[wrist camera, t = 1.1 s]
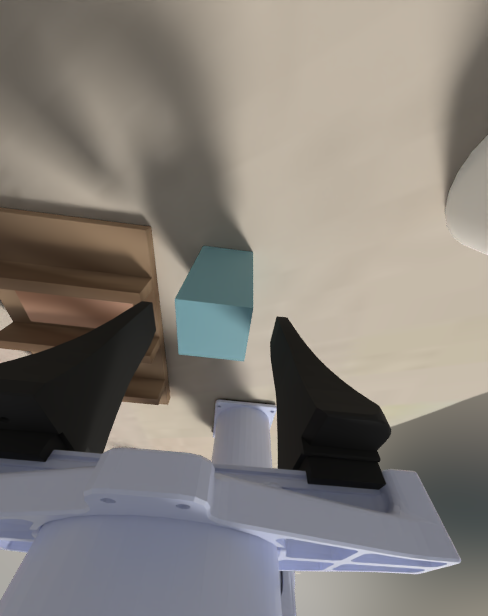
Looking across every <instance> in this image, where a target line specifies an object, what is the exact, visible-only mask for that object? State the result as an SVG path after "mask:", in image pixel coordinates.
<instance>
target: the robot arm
mask: <svg viewBox="0 0 488 616" xmlns="http://www.w3.org/2000/svg"><path fill="white" fill-rule="evenodd" d="M155 332H156V325H155V317H154V310H153V303H152V302H145V301H141V302H139V303H138V304H136V305H134V306H133V307H131V308H129V309H128V310H126V311H125V312H123V313H121V314H120V315H118V316H117V317H115V318H113V319H112V320H110V321H108V322H106V323H105V324H103V325H101V326H99V327H97V328H96V329H94V330H92V331H90V332H88V333H86V334H84V335H81V336H79V337H77V338H75V339H72V340H70V341H68V342H65V343H62V344H60V345H57V346H55V347H52V348H50V349H47V350H44V351H41V352H38V353H35V354H32V355H28V356H25V357H22V358H18V359H15V360H11V361H7V362H3V363H0V549H1V550H10V551H19V552H26V553H27V554H26V556H25V558H24V559H23V561H22V563H21V565H20V567H19V568H18V570H17V572H16V574H15V575H14V577H13V579H12V581H11V583H10V584H9V586H8V588H7V590H6V591H5V593H4V595H3V597H2V599H1V600H0V616H296V606H295V592H294V589H295V571H344V572H345V571H346V572H348V571H349V572H386V573H407V574H420V573H424V572H428V571H432V570H435V569H439V568H443V567H447V566H451V565H454V564H458V563H460V562H461V559H460V556H459V554H458V552H457V550H456V549H455V547H454V545H453V543H452V541H451V539H450V537H449V535H448V533H447V531H446V529H445V527H444V525H443V523H442V521H441V519H440V517H439V515H438V514H437V512H436V510H435V508H434V506H433V504H432V502H431V500H430V498H429V496H428V494H427V492H426V490H425V488H424V486H423V484H422V482H421V480H420V478H419V476H418V475H417V473H416V472H414V471H407V470H396V469H386V470H382V471H381V469H380V467H379V465H378V462H380V457H379V454H378V452H377V450H378V449H379V448H380V447H381V446H382V445H383V444H384V443H385V442H386V440H387V439H388V438H389V436H390V434H391V428H390V426H389V424H388V422H387V420H386V418H385V415H384V414H383V412H382V410H381V408H380V407H379V405H377V404H375V403H374V402H372V401H371V400H369V399H368V398H366V397H365V396H363V395H361V394H360V393H358V392H357V391H356V390H354V389H353V388H352V387H350V386H349V385H348V384H346V383H345V382H344V381H342V380H341V379H340V378H339V377H338V376H336V375H335V374H334V373H333V372H332V371H331V370H330V369H328V368H327V367H326V366H325V365H324V364H323V363H322V362H321V361H320V360H319V359H318V358H317V357H316V356H315V354H314V353H313V352H312V351H311V350H310V349H309V347H308V346H307V345H306V344H305V342H304V341H303V340H302V338H301V337H300V336H299V334H298V333H297V331H296V330H295V328H294V327H293V325H292V324H291V322H290V321H289V320H288V318H286V317H277V318H276V322H275V326H274V330H273V334H272V338H271V342H270V352H271V364H272V370H273V377H274V384H275V391H276V403H277V407H276V406H275V405H270V404H260V403H250V402H240V401H230V400H217V401H216V404H215V417H214V429H213V437H214V438H215V439H214V447H213V454H212V462H211V461H210V460H208V459H207V458H205V457H203V456H201V455H196V454H191V453H183V452H172V451H160V450H149V449H137V448H113V449H111V450H108V451H106V452H104V449H105V446H106V443H107V440H108V437H109V434H110V431H111V429H112V426H113V423H114V420H115V418H116V415H117V412H118V410H119V407H120V405H121V402H122V400H123V397H124V395H125V393H126V390H127V388H128V386H129V383H130V381H131V379H132V377H133V375H134V374H135V372H136V370H137V368H138V367H139V365H140V363H141V361H142V359H143V358H144V356H145V354H146V352H147V350H148V348H149V347H150V345H151V342H152V340H153V337H154V334H155ZM276 410H277V431H278V469H275V468H272V457H271V441H270V427H271V424H272V421H273V419H274V416H275V413H276ZM103 452H104V453H103Z"/></svg>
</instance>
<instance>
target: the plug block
mask: <svg viewBox="0 0 488 616" xmlns="http://www.w3.org/2000/svg"><path fill="white" fill-rule="evenodd" d="M175 308H176V323H177V338H178V353H179V355H189V356H199V357H208V358H218V359H227V360H237V361H244V359H245V353H246V347H247V341H248V335H249V330H250V324H251V318H252V312H253V252H250V251H242V250H234V249H226V248H218V247H210V246H203V247H202V249H201V251H200V253H199V255H198V257H197V258H196V260H195V262H194V264H193V266H192V268H191V270H190V272H189V273H188V275H187V277H186V279H185V281H184V283H183V285H182V287H181V288H180V290H179V292H178V294H177V296H176V298H175Z"/></svg>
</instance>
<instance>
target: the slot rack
mask: <svg viewBox="0 0 488 616" xmlns="http://www.w3.org/2000/svg"><path fill="white" fill-rule="evenodd" d="M0 300H1V301H2V303H3V305H4V307H5V308H6V310H7V312H8V313H9V315H10V317H11V319H12V320H13V322H12V323H11V324H10V325H8V326H7V327H5V328H4V329H2V330H1V331H0V348H3V349H13V350H22V351H31V353H32V354H35V353H38V352H41V351H44V350H47V349H50V348H52V347H55V346H57V345H60V344H62V343H65V342H68V341H70V340H72V339H75V338H77V337H79V336H81V335H84V334H86V333H88V332H90V331H92V330H94V329H96V328H97V327H99V326H101V325H103V324H105V323H106V322H108V321H110V320H112V319H113V318H115V317H117V316H118V315H120V314H121V313H123V312H125V311H126V310H128V309H129V308H131V307H133V306H134V305H136V304H138V303H139V302H141V301H145V302H152V303H153V310H154V317H155V325H156V332H155V334H154V337H153V340H152V342H151V345H150V347H149V348H148V350H147V352H146V354H145V356H144V358H143V359H142V361H141V363H140V365H139V367H138V368H137V370H136V372H135V374H134V375H133V377H132V379H131V381H130V383H129V386H128V388H127V390H126V393H125V395H124V397H123V400H122V402H132V403H143V404H153V405H158V404H167V405H168V403H169V400H170V390H169V381H168V372H167V363H166V354H165V346H164V337H163V328H162V319H161V310H160V301H159V292H158V283H157V274H156V266H155V257H154V248H153V239H152V230H151V227H150V226H142V225H134V224H127V223H119V222H111V221H103V220H95V219H87V218H79V217H72V216H64V215H56V214H48V213H40V212H32V211H24V210H17V209H9V208H1V207H0Z"/></svg>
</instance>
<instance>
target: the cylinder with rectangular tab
mask: <svg viewBox="0 0 488 616" xmlns="http://www.w3.org/2000/svg"><path fill="white" fill-rule="evenodd" d="M445 217H446V226H447V228H448V230H449V231H450V233H451V235H452V237H453V238H455V239H456V240H457V241H458V242H460V243H461V244H462V245H465V246H467V247H469V248H472V249H474V250H476V251H479V252H481V253H483V254H486V255H488V135H487V136H486V137H485V138H484V139H483V140H482V141H481V143H480V144H479V145H478V146H477V147H476V148H475V149H474V150H473V151H472V152H471V154H470V155H469V157H468V158H467V160H466V161H465V162H464V164H463V165H462V167H461V168H460V170H459V171H458V173H457V175H456V177H455V179H454V182H453V184H452V186H451V188H450V191H449V193H448V198H447V203H446V208H445Z"/></svg>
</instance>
